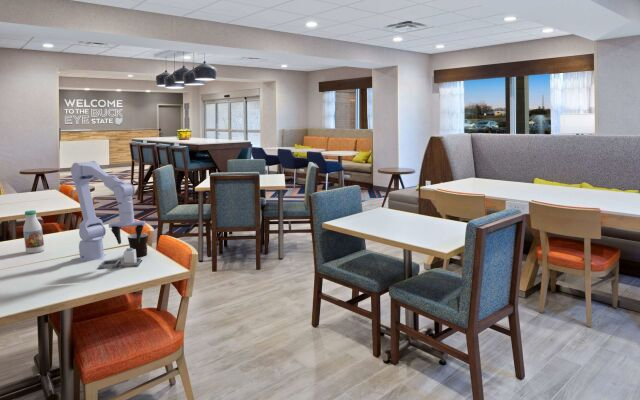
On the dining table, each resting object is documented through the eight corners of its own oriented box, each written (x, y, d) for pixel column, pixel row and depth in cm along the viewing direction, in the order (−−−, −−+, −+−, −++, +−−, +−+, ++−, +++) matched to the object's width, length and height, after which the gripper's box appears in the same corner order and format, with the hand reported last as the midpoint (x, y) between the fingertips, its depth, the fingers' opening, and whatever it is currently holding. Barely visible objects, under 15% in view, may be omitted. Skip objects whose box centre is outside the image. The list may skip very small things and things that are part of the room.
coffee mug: (142, 259, 207) (140, 238, 205) (125, 259, 209) (123, 237, 207) (156, 252, 218) (155, 231, 216) (140, 251, 220) (138, 231, 218)
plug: (124, 265, 197) (123, 250, 196) (127, 263, 201) (125, 247, 200) (134, 265, 198) (133, 249, 196) (136, 262, 201) (135, 246, 200)
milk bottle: (22, 252, 222) (16, 212, 218) (37, 248, 229) (32, 209, 225) (33, 254, 219) (28, 213, 215) (48, 250, 226) (43, 210, 222)
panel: (97, 270, 193) (97, 266, 193) (104, 263, 203) (104, 259, 202) (137, 268, 195) (137, 264, 195) (142, 261, 205) (142, 257, 205)
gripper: (105, 214, 190) (108, 246, 193) (142, 213, 193) (144, 244, 195) (110, 211, 197) (113, 242, 200) (145, 209, 200) (148, 240, 202)
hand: (129, 243), depth 198 cm, fingers open, 7 cm apart
